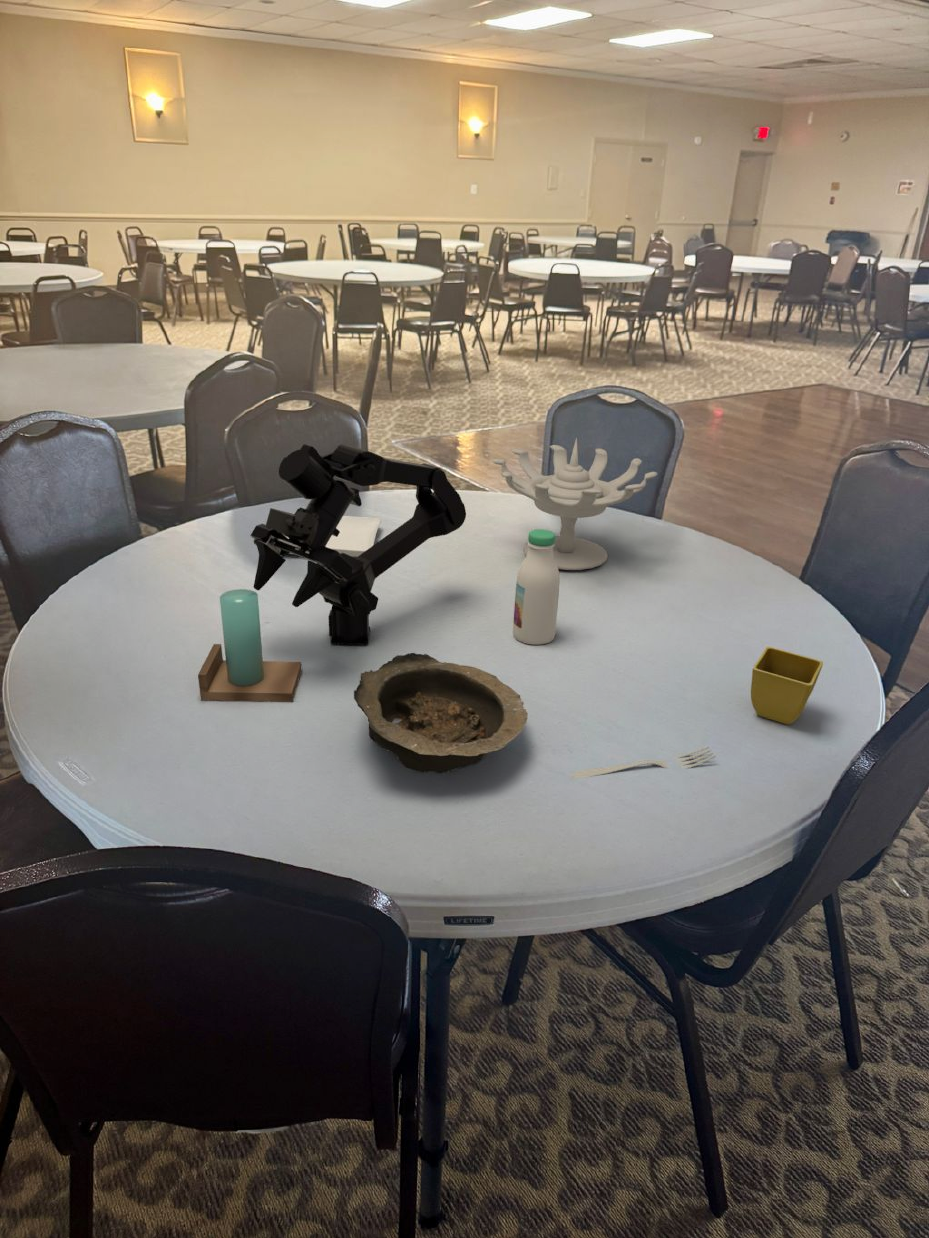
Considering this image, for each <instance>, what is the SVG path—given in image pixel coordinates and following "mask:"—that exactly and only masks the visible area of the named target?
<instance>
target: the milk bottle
mask: <svg viewBox="0 0 929 1238" xmlns="http://www.w3.org/2000/svg"><path fill="white" fill-rule="evenodd" d="M555 536H556V534H555V532H553V531H551V530H549V529H548V530H547V529H538V528H537V529H533V530H531V531H529V532H528V538H527V539H528V542H527V543H528V545H529V550H528V553H527V555H525V557H524V559H523V560H522V563H521V564H520V567H519V569H518V571H517V576H516V583H515V596H514V607H513V608H514V609H513V624H512V634H513V637H514V638H515V639H516V640H517V641H519V642H521V643H523V644H527V645H534V646H535V645H536V646H537V645H539V646H540V645H546V644H548V643H551V642H552V641H553V640H554V638H555V636H556V628H557V627H556V626H557V617H558V609H559V607H558V606H559V597H560V584H561V583H560V582H561V581H560V579H561V578H560V572H559V569H558V567H557V564H556V562H555V559H554V555H553V547H554V546H555V545H554V543H555Z"/></svg>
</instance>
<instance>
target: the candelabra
mask: <svg viewBox="0 0 929 1238" xmlns="http://www.w3.org/2000/svg"><path fill="white" fill-rule="evenodd" d="M549 448H550V449H551V450H552V451H553V457H552V458H553V459H552V461H553V462H552V463H553V474H550V475H543V473H541V472H539V471H538V470H537V469H536V468H535V466H534V465H533V464H532V463H531V460H530V458H529V456H530V455H529V451H528V450H525V449H521V448H512V449H511V450H510V451H511V452H512V453H513V454H514V455H517V456H518V462H519V465H520V468H521V469H522V470H523V472H524V473H525V474H526V476H527V477H528V478H529V481H528V480H526V479H523V478H521V477H519V476H518V475H516V474H514V473H513V472H512V471H510V470H509V468H508V466H507V465H506V463H507V462H506V461H507V460H506V459H503V458H495V459H492V463H493V464H495V465H499V466H501V473H500V475H501V477H503V478H505V481H506V484H507V486H508V487H509V488H510V489H512V490H513V491H514V492H517V493H518V494H521V495H523V496H525V497H527V498H528V499H531V500H532V501H533V503H534V506H535V507H536V508H537V509H538V510H539V511H541V512H544V513H546V514H549V515H552V516H556V517H559V518H560V524H561V527H560V531H559V535H555V543H554V545H555V546H554V547H553V555H554V559H555V562H556V564H557V567H558V570H565V571H580V570H581V571H582V570H587V569H593V568H595V567H600V566H601V565H603V564H604V563H605V562H606V561H607V559H608V557H609V556H608V553H607V551H606V549H605V548H603V547H602V546H601V545H600V544H598V543H595V542H593V541H590V540H588V539H585V538H581V537H576V536H575V534H576V533H575V525H576V523H577V520H578V519H579V518H580V519H583V518H591V517H596V516H599V515H601V514H603V513H604V512H605V510H606V508H607V507H609V506H612V505H616V504H620V503H622V502H625V501H628V499H631V497H632V496H633V495H635V494H636V493H639V492H642V491H643V489H644V488H645V486H646V485H647V481H648V480H651V479H653V478H655V477H657V475H658V472H656V471H649V472H647V473H645V474H644V478H643V480H642V481H641V482H640V483H636V484H629V485H626V484H627V483H629V482H630V481H632V480H633V479H634V478H635V477H636V475H637V474H638V469H639V466H641V465H642V462H643V460H641V459H640V458H638V457H636V458H633V459H632V460H631V462H630V463H629V464H630V465H629V467H628V469H627V470H626V472H624V473H622V474H621V475H620V476H618V477H617V478H615V479H613V480H610V481H604V480H601V478H602V475H603V473H604V471H605V470H606V467H607V464H608V459H609V457H608V452H607V451H606V449H603V448H595V450H594V451H595V456H594V459H593V462H592V464H591V466H590V468H589V470H586V469H585V468H584V467H583V466H582V465H580V464H579V456H578V455H579V454H578V452H579V451H578V439H577V437H576V438H575V441H574V446H573V449H572V452H571V453H572V454H571V457H570V461H569V462H568V452H567V451H568V450H566V448H564V447H563V446H561V445H557V444H553V445H549ZM625 485H626V486H625ZM623 486H625V488H624V489H622V490H621V489H620V488H622V487H623ZM528 550H529V545H528V542H527V543H526V544H525V546H524V547H523V553H524V555H525V556H526V555H527V553H528Z"/></svg>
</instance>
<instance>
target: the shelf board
mask: <svg viewBox="0 0 929 1238" xmlns="http://www.w3.org/2000/svg"><path fill="white" fill-rule="evenodd" d="M222 646H223V645H222V643H213V645H212V646H211V649H210V651H209V652H208V655H207V657H206V658H205V660H204V662H203V664H202V666H201V668H200V670H199V672H198V675H197V677H198V678H197V680H198V688H199V694H200V695H199V696H200V700H201V701H222V700H223V701H225V702H226V701H227V702H229V701H230V702H236V701H237V702H276V703H277V702H279V703H281V702H283V703H284V702H285V703H286V702H287V703H291V702H293V700H294V697H295V693H296V691H297V687H298V684H299V680H300V676H301V674H302V670H303V669H302V667H303V666H302V661H283V660H281V661H280V660H279V661H278V660H277V661H275V660H273V661H272V660H263V670H264V678H263V679H262V680H261V681H260V682H258V683H256V684H254V685H249V686H237V685H233V684H231V683H230V682H229V681H228V677H227V667H226V659H225V660H224V659H223V656H224V655H223V648H222Z"/></svg>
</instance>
